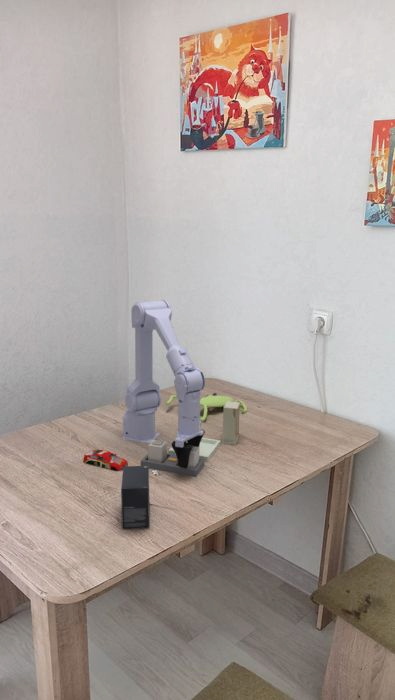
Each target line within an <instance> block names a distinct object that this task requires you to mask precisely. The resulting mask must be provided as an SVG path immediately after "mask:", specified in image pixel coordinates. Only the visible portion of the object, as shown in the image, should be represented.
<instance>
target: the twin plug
mask: <svg viewBox="0 0 395 700" xmlns="http://www.w3.org/2000/svg"><path fill="white" fill-rule="evenodd" d="M167 453H168V441H166V440H165V441H164V440H159V439H154V440H153V441H152V442H151V443H148V445H147V454H148V461H153V462H159V463H164V462H165V460H166V459H167Z"/></svg>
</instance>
